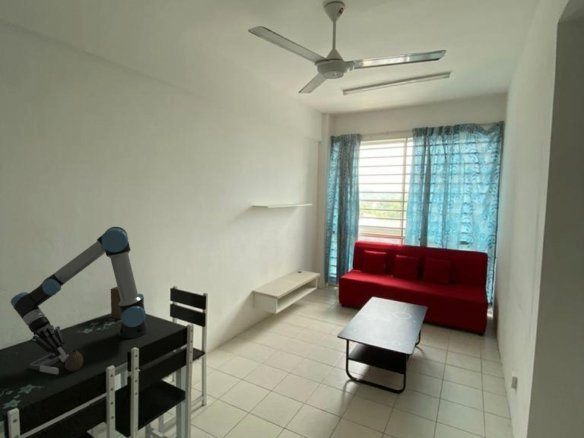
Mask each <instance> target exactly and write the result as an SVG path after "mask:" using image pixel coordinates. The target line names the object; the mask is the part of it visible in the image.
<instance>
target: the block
mask: <svg viewBox="0 0 584 438" xmlns="http://www.w3.org/2000/svg"><path fill="white" fill-rule="evenodd" d="M120 301H121V299H120V295H119V291H118V287H117V286H115V287H112V288H111V289H110V310H111V311H110V313H111V315H110V316H111V319H112V318H113V319H119V318H120V319H121V312H120V308H119V302H120Z"/></svg>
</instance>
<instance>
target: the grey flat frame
mask: <svg viewBox="0 0 584 438" xmlns="http://www.w3.org/2000/svg"><path fill="white" fill-rule="evenodd" d="M59 361H61V359H60V358H59V357H57V356H56V355H55V354H54V353H49V354H46V355H45V356H42V357H41V358H39V359H36V360H35V361H33V362H31V363H29V364H27V366H28V367H27V370H34V371H39V372H41V371H40V366H41V365H43V366H49V367H51V366H53V365H54V364H56V363H58V362H59Z"/></svg>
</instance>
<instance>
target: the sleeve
mask: <svg viewBox="0 0 584 438" xmlns="http://www.w3.org/2000/svg"><path fill="white" fill-rule="evenodd" d="M68 355H69V354H67V356H68ZM39 372H42V373H47V374H53V375H58V374H60V368H59V367H54V366H43V365H41V366H40V371H39Z"/></svg>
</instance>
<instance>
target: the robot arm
mask: <svg viewBox="0 0 584 438" xmlns="http://www.w3.org/2000/svg"><path fill="white" fill-rule="evenodd" d="M128 236H129V235H128V232H127V231H126V230H125V229H124V228H123V227H120V226H112V227H108V229H106V230H105V232H104V233H103V234H101V235H100V236H99V237H98V238H97V239H96V242H94V243H93V244H92V245H90V246H89V247H87V248H85V250H83V251H82V252H81V253H79V254H78V255H77V256H75V257H74V258H73V259H72V260H70V261H68V262H67V263H65V265H63V266H62V267H60V268H59V269H58V270H57V271H55V272H54V273H53V274H51V275H50V276H48V277H46V278H45V279H44V280H43V281H42V282H41V283H40V284H39V286H37V287H36V288H35V289H33V290H31V291H30V292H27V291H23V292H20V293H18V294H16V295H15V296H13V297H12V298H11V300H10V304H11V306H12V307H13V309H14V310H15V311H16V313H17V314H18V315H19V317H20V318H21V319H22V321H23V322H24V323H25V324H26V326H28V330H30V332H31V333H33V336H32V338H30V341H31V342H32V343H35V344H36V345H38V346H39V347H40V348H41V349H42V350H44V351H45V352H47V353H49V354H55V355H56V356H57V357H59V358H60V359H61V360H60V361H61V362H62V363H65V361H66V358H67V357H68V356H67V355H68V354H67V353H66V350H65V348H64V347H63V346H64V344H65V343H66V342H65V339H64V337H63V334H62V332H61V327H60V326H59V325H58V326H54V325H52V324H51V322H50V320H49V319H48V317H47V316H46V314H45V313H44V312H43V311H42V309H41V308H40V307H39V306H41V305H42V304H43V303H44V302H46V301H48V300H49V299H50V298H52V297H53V296H55V295H57V294H58V293H59V292H60V291H61V290H62V286H64V285H65V284H66V283H68V281H71V279H73V278H74V277H76V276H77V275H78V274H79V273H81V272H82V271H83V270H84V269H86V268H87V267H89V266H90V265H91V264H93V263H94V262H95V261H96V260H98V259H99V258H100V257H102V256H104V255H105V256H106V258H107V257H108V258H109V259H110V263H111V266H112V270H113V275H114V278H115V283H116V287H118V291H119V295H120V299H121V301H120V302H119V308H120V312H121V325H120V328H119V330H118V336H119V337H120V338H122V339H135V338H138V337H141V336H144V335H145V334H147V333H148V325H147V323H146V320H145V318H146V314H147V312H146V309H145V304H144V303H145V300H144V299H145V296H144V294H142V293H138V289H137V286H136V281H135V276H134V273H133V268H132V263H131V259H130V257H129V253H130V252H131V246H130V241H129V237H128Z"/></svg>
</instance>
